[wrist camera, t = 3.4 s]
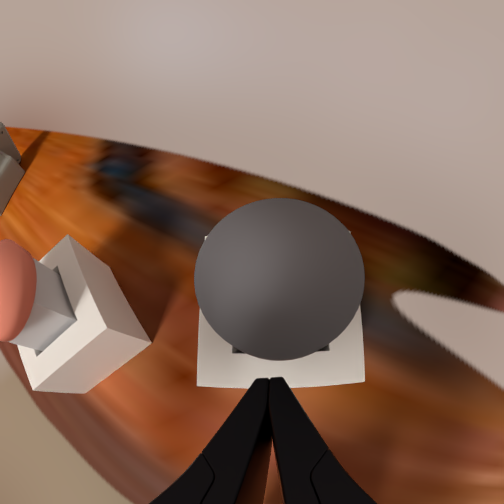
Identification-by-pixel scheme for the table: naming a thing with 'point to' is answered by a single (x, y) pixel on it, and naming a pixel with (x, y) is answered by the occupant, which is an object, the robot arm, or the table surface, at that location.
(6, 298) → the red plug
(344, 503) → the robot arm
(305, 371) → the socket
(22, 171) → the digital clock
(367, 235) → the table surface
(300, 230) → the plug
